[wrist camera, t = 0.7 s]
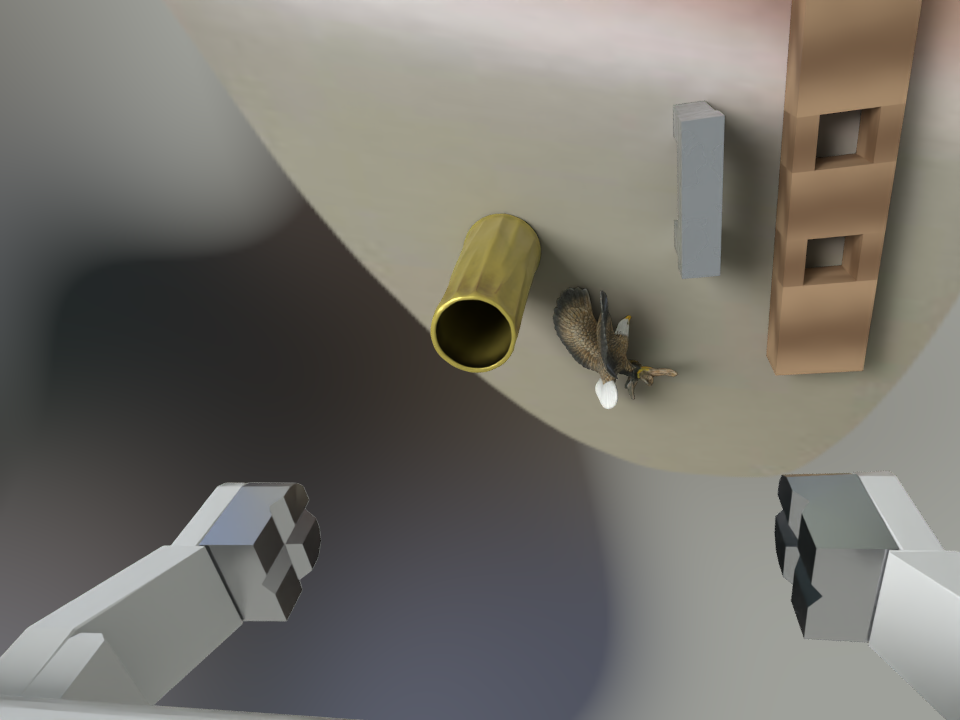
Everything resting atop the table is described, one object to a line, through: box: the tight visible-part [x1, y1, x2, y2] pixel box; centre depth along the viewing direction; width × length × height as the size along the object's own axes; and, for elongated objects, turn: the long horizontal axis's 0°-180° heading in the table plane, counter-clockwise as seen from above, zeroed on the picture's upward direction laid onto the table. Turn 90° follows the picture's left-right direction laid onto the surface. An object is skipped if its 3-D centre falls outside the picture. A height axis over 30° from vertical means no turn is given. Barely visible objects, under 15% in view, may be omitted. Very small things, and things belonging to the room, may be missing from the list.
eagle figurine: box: [553, 287, 678, 409], centre depth 48 cm, size 8×7×9 cm
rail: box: [766, 0, 922, 375], centre depth 42 cm, size 26×6×3 cm, turn 9°
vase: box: [431, 214, 541, 373], centre depth 43 cm, size 6×6×14 cm
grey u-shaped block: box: [673, 101, 725, 279], centre depth 41 cm, size 10×2×6 cm, turn 9°
